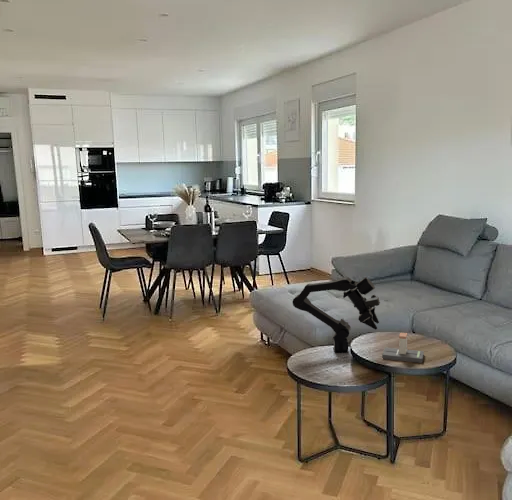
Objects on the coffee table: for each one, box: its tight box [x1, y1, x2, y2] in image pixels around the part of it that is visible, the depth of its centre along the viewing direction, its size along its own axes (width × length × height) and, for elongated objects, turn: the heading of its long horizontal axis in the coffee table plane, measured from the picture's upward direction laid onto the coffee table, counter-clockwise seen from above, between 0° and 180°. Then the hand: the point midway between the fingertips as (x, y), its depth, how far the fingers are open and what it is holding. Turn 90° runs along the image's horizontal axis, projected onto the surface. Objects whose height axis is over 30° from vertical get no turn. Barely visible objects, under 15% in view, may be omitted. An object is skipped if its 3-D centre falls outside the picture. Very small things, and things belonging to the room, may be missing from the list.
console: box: [381, 347, 425, 364], centre depth 236 cm, size 18×10×2 cm, turn 68°
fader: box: [398, 332, 408, 354], centre depth 235 cm, size 3×5×9 cm, turn 158°
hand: (377, 326), depth 239 cm, fingers open, 9 cm apart
